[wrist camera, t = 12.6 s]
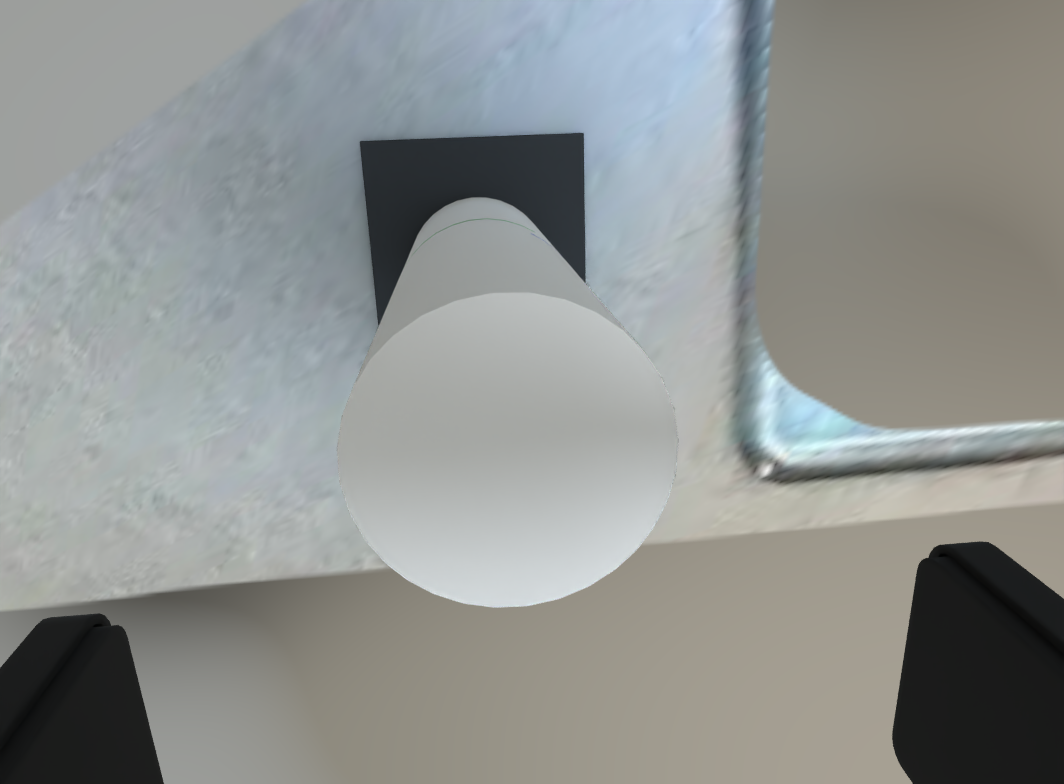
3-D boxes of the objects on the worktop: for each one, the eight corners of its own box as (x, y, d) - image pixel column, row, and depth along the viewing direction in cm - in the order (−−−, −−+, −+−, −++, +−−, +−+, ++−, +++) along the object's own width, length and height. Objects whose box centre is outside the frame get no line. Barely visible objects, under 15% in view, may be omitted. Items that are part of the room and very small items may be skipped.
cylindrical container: (490, 360, 41) (533, 660, 18) (382, 278, 39) (267, 491, 16) (576, 257, 40) (746, 431, 16) (468, 166, 38) (483, 215, 14)
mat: (360, 141, 37) (359, 141, 37) (582, 133, 38) (583, 133, 38) (385, 392, 42) (385, 394, 41) (586, 380, 42) (586, 381, 42)
